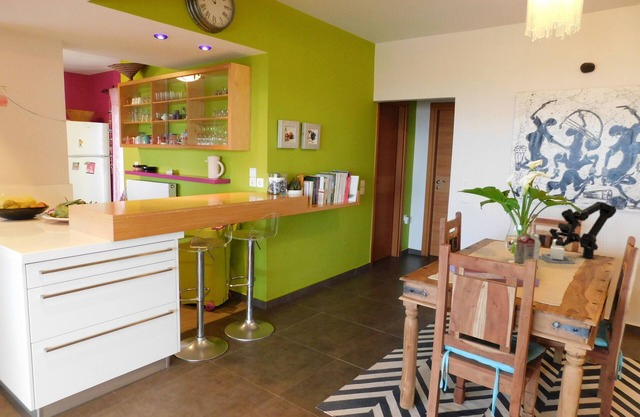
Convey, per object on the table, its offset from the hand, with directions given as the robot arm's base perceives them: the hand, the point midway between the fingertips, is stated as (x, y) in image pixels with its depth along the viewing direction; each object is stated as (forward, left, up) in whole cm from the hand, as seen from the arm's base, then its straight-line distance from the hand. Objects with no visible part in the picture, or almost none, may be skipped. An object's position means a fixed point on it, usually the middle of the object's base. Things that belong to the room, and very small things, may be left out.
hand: (557, 244), depth 271 cm
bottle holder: (0, 0, -10) cm, 10 cm away
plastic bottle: (+18, -23, -10) cm, 31 cm away
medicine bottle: (0, 0, -9) cm, 9 cm away
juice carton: (+28, -33, -10) cm, 45 cm away
